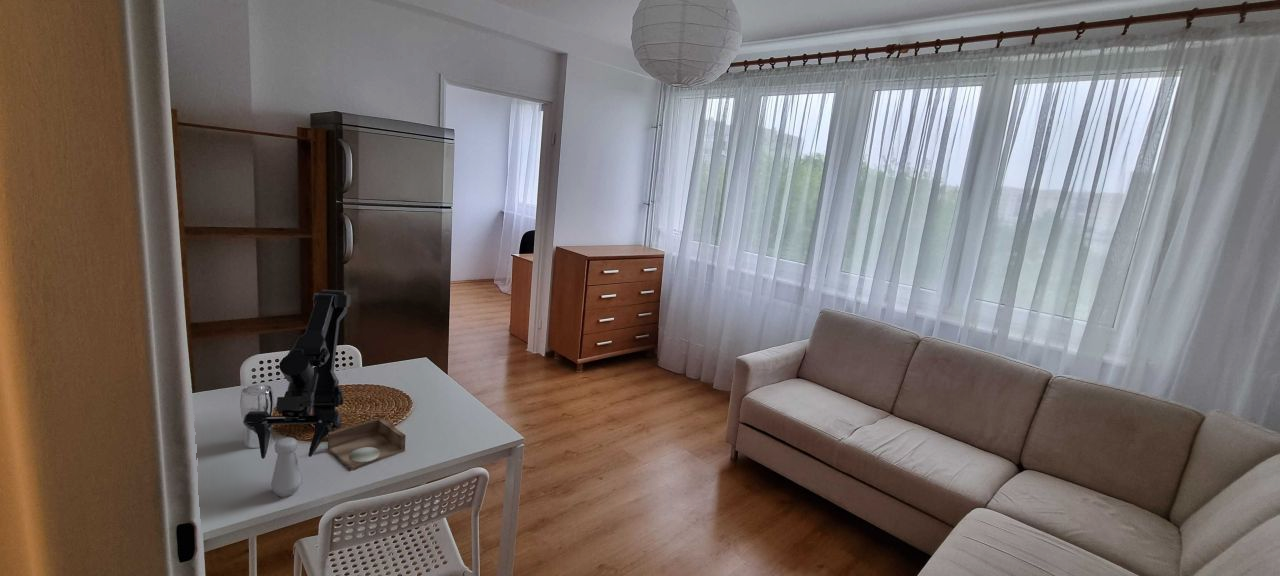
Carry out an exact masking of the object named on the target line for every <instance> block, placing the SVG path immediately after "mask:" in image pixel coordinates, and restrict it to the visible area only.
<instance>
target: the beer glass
mask: <svg viewBox="0 0 1280 576" xmlns="http://www.w3.org/2000/svg"><path fill="white" fill-rule="evenodd" d="M274 402H275V401H274V391H273V386H272V385H270V384H266V383H260V384H259V383H257V384H252V385H248V386H245V387H244V388H242V389H241V390H240V399H239V404H240V405H239V408H240V415H241V418H242V422H243V421H244V418H245V415H246V414H247V413H249V412H254V411H267V412H268V413H269V415H270V416H274V408H275V405H274V404H275V403H274ZM243 426H244V432H245V435H244V440H243V445H244V447H246V448H248V449H260V445H259V439H258V436H257V433H255V432H254V431H253V430H250V429H249V428H248V427H247V426H246V425H245V424H244V423H243ZM268 429H269V430H270V431H271V427H270V428H268ZM272 442H273V436H272V433H271V434H270V439H269V444H268V445H270V444H272Z"/></svg>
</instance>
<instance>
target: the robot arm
mask: <svg viewBox="0 0 1280 576" xmlns="http://www.w3.org/2000/svg"><path fill="white" fill-rule="evenodd" d="M312 304H313V305H312V306H313V309H312V310H311V314H310V317H309V320H308V323H307V327H306V330H305V332H304V334H302V335H301V336H299V337H298V338H297V339H296V341H295V343H294V345H293V347H291V348H290V350H289V351H288V353H287V354H286V355H285V356H284V357H283V358H282V359H281V360H280V362H279V364H278V365H279V370H280V372H281V373H282V375H283V377H284V378H285V379H286V381H287V382H288V387H287V391H285V393H284V396H277V398H276V406H275V412H277V413H278V414H279V415H272V416H270V415H269V413H268V412H267V411H254V412H249V413H247V414H246V415H245V418H244V421H243V420H242V423H243V425H244V424H245V425H246V426H247V427H248V428H249V429H250V430H253V431H254V432H255V433H257V436H258V439H259V445H260V448H259V450H260V457H261V460H262V459H263V460H264V459H265V458H266V456H267V453H268V448H269V445H270V444H269V439H270V434H271V435H272V431H271V427H272V425H309V424H313V425H315V429H314V433H313V436H312V440H311V443H310V447H309V449H308V457H309V458H311V457H312V456H313V455H314V453H315V452H316V450H317V449H318V448H319V446H320V444H321V442H322V441H323V440H324V439H325V438H326V437H327V436H328V433H329V432H333V431H335V429H341V426H342V416H341V414H340V413H339V411H338V410H336V408H339V406H341V405H343V404H344V393H343V390H342V388H341V386H339V384H340V381H339V379H338V377H337V374H336V373H335V365H336V364H335V362H336V355H337V354H336V353H337V346H338V345H337V344H338V339H339V338H338V337H339V329H340V322H341V320H342V319H343V318H345V315H347V313H348V308H349V307H350V306H351V294H347V291H346V290H339V289H321V290H320V292H317V293H316V292H315V293H313V303H312ZM314 367H315V369H314ZM268 428H270V430H269V429H268Z"/></svg>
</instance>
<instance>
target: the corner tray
mask: <svg viewBox="0 0 1280 576" xmlns="http://www.w3.org/2000/svg"><path fill="white" fill-rule="evenodd" d="M327 450H328V451H329V453H331V454H332V455H333V456H335V457H336V458H337V459H338V460H339V461H340V462H341V463H342V464H343V465H344V466H346V467H347V468H348V469H349V470H350V471H354V470H357V469H359V468H362V467H365V466H368V465H371V464H374V463H377V462H379V461H381V460H384V459H387V458H389V457H392V456H396V455H398V453H399V454H401V453H404V452H405V451H406V434H405V433H403V432H402V431H400V430H399V429H398V428H397V427H395V426H394V425H392V424H391V423H389V422H388V421H387V420H385V419H384V418H383V417H377V418H374V419H373V418H372V419H371V420H367V421H363V422H360V423H356V424H354V425H350V426H347V427H344V428H338V429H337V430H334V431H333V432H329V433H328V434H327Z"/></svg>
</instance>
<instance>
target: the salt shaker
mask: <svg viewBox="0 0 1280 576" xmlns="http://www.w3.org/2000/svg"><path fill="white" fill-rule="evenodd" d="M298 444H299V443H298V441H297V439H296V438H294V437H282V438H280V439H279V440H277V441H276V442H275V443H274V445H273V446H274V451H275V453H276V454H277V457H276V461H275V465H274V466H275V467H274V471H273V474H272V479H271V483H270V487H271V490H272V492H273V493H274V494H275V496H277V497H280V498H285V497H289V496H290V497H291V496H293V495H294V494H296V493H297V491H298V490H299V488H300V486H301V484H302V479H303V478H302V476H301V471H300V468H299V464H298V459H297V456H296V450H297V449H298Z"/></svg>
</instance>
